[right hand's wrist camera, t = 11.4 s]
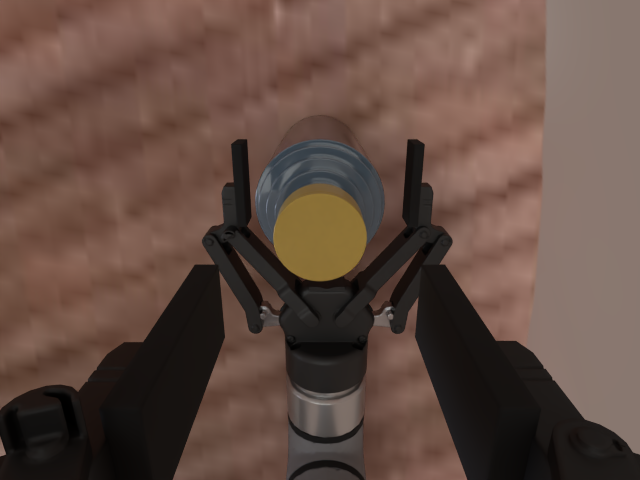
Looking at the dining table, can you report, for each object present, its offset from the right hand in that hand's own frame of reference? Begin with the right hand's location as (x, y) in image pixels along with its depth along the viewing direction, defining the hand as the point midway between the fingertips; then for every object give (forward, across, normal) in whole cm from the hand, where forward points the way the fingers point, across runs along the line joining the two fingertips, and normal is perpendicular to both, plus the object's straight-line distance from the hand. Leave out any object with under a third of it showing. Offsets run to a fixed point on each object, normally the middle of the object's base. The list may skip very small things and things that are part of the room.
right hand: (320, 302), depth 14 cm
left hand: (+21, -1, -2) cm, 22 cm away
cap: (+6, 0, 0) cm, 6 cm away
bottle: (+28, 0, 0) cm, 28 cm away
